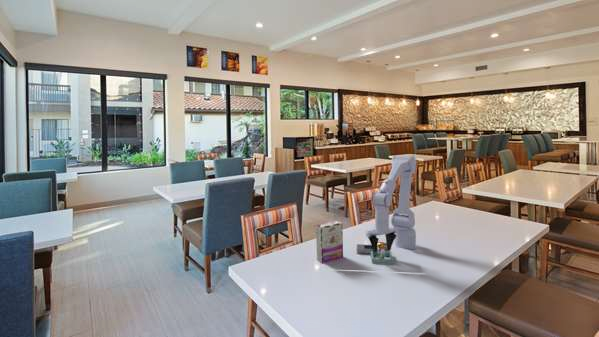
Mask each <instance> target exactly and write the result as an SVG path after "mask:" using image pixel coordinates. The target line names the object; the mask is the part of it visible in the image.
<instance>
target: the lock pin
mask: <svg viewBox="0 0 599 337" xmlns="http://www.w3.org/2000/svg"><path fill="white" fill-rule="evenodd" d="M377 246H378V256H376V257H377V258H380V259H386V256H385V248H386V242H384V241H378V244H377Z"/></svg>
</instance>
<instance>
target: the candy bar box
mask: <svg viewBox="0 0 599 337" xmlns="http://www.w3.org/2000/svg"><path fill="white" fill-rule="evenodd" d="M343 238H344V237H343V222H341V221H338V220H334V221H328V222H323V223H318V224H316V225H315V240H316V243H315V244H316V260H317V262H319V263H321V264H324V263H326V262H327V263H328V262H331V261H334V260H338V259H342V258H344V243H343V242H344V241H343Z"/></svg>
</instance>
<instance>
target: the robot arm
mask: <svg viewBox="0 0 599 337" xmlns="http://www.w3.org/2000/svg"><path fill="white" fill-rule="evenodd" d="M416 159H417V158H416V157H415V156H414V155H396V154H395V155H393V156H392V157H391V162H390V163H391V164H390V165H391V170H390V171H389V175H388V177H387V178H385V179H384V180H383V181H382V183H381V186H380V187H379V190H378V191H377V192H375V193H374V194H373V196H372V204H373V208H374V211H375V212H374V220H375V221H374V224H375V225H374V229H370V230H369V231H365V237H366V238H368V240H369V242H370V245H372V249H373V252H375V253H377V245H378V242H379V238H378V237H377V236H383V235H385V241H386V242H385V243H386V248H387V249H388V250H390V251H391V249H392V246H394V248H395V249H411V250H416V249H417V248H416V245H417V244H416V242H417V241H416V240H417V238H416V237H417V236H416V235H417V234H416V229H415V228H414V227H415V225H416V224H415V223H416V219H415V212H413V211H412V210H411V209H410V200H411V190H412V180H413V179H412V178H413V175H414V174H416V168H417V160H416ZM399 177H400V184H399V194H398V204H397V205H398V207H397V208H396V209H394V210H393V211H392V215H391V219H390V206H391V205H392V202H393V194H394V192H395V189H396V188H397V183H396V182H397V180H398V179H399ZM390 224H391V225H392V226H393V227H390Z"/></svg>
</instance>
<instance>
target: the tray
mask: <svg viewBox="0 0 599 337" xmlns="http://www.w3.org/2000/svg"><path fill="white" fill-rule="evenodd" d="M375 256H376V257H378V251H377V253H375V252H373V251H371V254H370V261H371V264H384V265H385V264H387V265H394V263H395V259H394V256H393V253H392V251H390V252H388V251H385V257H389V258H385V259H380V258H375Z"/></svg>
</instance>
